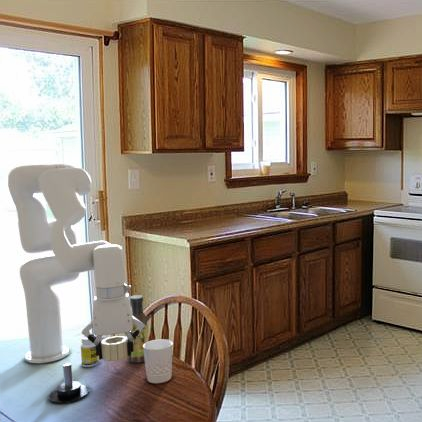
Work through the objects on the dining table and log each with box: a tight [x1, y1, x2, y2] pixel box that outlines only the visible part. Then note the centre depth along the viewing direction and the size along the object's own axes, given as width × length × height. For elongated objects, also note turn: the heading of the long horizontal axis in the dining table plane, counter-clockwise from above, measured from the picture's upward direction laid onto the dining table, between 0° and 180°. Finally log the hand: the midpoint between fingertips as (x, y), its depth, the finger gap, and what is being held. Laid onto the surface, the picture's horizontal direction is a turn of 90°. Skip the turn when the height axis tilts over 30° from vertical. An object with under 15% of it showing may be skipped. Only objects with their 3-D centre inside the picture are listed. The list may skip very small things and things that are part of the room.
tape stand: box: [48, 362, 90, 405], centre depth 140 cm, size 10×10×8 cm
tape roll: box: [101, 335, 128, 362], centre depth 143 cm, size 7×7×4 cm
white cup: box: [143, 338, 173, 384], centre depth 149 cm, size 8×8×10 cm
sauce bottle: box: [127, 294, 149, 364], centre depth 162 cm, size 6×6×20 cm
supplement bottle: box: [80, 335, 99, 368], centre depth 160 cm, size 5×5×8 cm
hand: (115, 355), depth 143 cm, fingers closed on tape roll, 6 cm apart
